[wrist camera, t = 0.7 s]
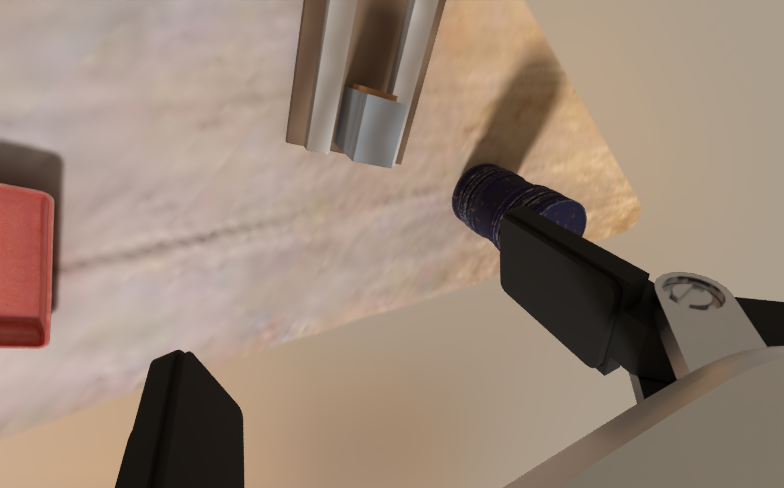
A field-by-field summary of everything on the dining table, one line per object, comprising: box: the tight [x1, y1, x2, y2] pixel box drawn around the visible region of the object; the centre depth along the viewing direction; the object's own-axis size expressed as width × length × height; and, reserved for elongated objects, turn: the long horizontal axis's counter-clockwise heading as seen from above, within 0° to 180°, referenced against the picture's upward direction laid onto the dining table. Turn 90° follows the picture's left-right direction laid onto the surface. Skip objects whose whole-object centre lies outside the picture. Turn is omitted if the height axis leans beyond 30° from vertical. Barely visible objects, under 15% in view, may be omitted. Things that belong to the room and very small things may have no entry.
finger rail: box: [286, 0, 446, 168], centre depth 32 cm, size 14×21×9 cm, turn 163°
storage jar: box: [452, 164, 587, 251], centre depth 45 cm, size 10×10×15 cm
